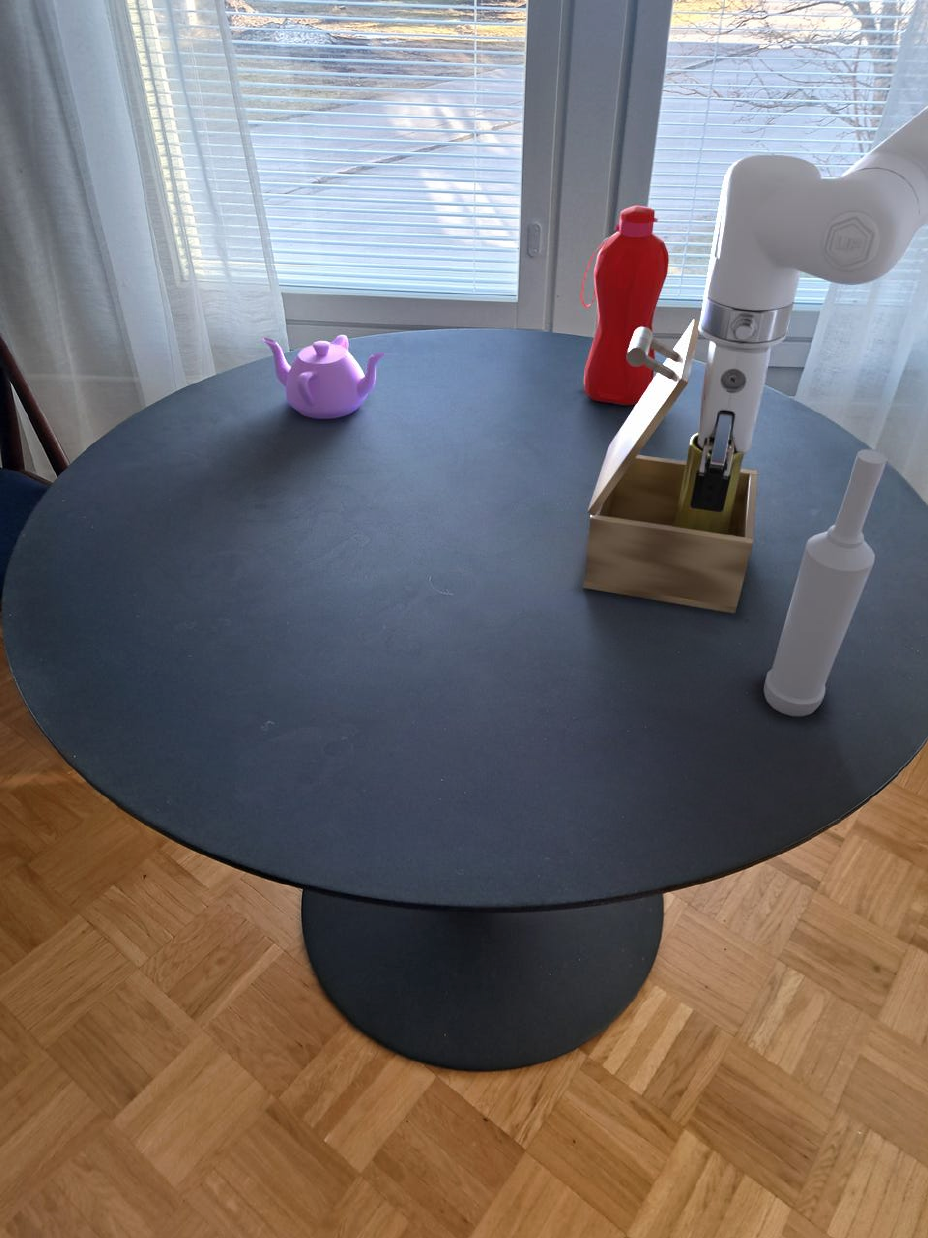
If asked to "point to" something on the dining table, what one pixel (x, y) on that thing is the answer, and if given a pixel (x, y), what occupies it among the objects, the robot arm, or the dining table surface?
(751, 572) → the dining table surface
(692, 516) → the vase
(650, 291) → the water bottle
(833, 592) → the bottle
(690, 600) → the box
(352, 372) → the teapot
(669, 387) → the lid
